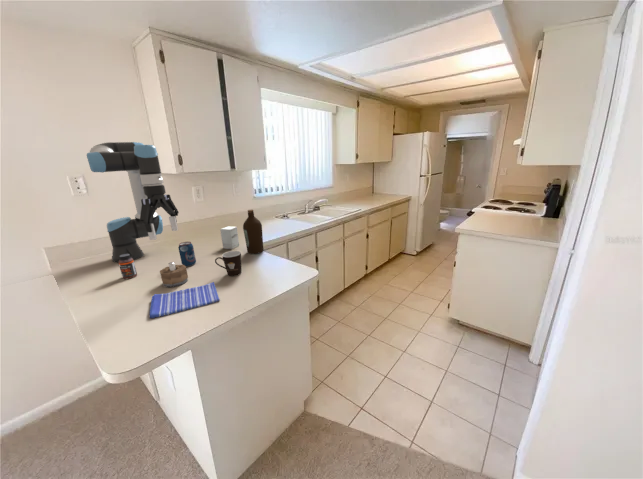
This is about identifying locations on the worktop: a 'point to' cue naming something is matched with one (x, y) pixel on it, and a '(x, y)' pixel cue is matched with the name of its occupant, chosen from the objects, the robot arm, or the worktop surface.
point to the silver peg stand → (172, 268)
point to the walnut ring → (174, 274)
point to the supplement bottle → (127, 266)
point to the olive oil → (253, 234)
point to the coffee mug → (231, 262)
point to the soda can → (187, 254)
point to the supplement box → (229, 237)
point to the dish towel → (183, 300)
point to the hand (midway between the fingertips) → (164, 234)
